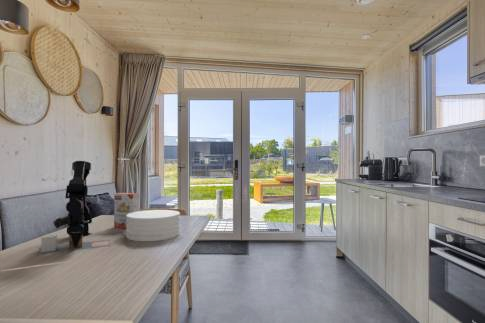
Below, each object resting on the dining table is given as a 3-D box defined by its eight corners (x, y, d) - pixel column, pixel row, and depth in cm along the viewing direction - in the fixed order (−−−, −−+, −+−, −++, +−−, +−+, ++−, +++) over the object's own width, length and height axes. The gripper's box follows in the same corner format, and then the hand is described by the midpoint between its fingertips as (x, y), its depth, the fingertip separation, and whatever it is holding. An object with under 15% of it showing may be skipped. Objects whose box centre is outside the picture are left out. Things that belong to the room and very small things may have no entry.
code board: (35, 256, 112) (35, 254, 112) (40, 248, 123) (40, 247, 123) (110, 247, 126) (110, 245, 126) (109, 240, 136) (109, 239, 136)
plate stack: (114, 237, 145) (114, 215, 145) (154, 227, 169) (154, 208, 170) (153, 244, 131) (153, 220, 132) (189, 232, 156) (190, 212, 156)
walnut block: (68, 248, 121) (69, 235, 121) (69, 245, 125) (69, 232, 125) (82, 247, 123) (82, 233, 123) (82, 244, 128) (82, 231, 128)
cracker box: (113, 227, 167) (113, 193, 167) (120, 225, 172) (120, 192, 173) (132, 229, 163) (133, 194, 163) (139, 227, 168) (139, 193, 169)
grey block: (41, 252, 116) (41, 237, 116) (42, 249, 120) (43, 235, 121) (55, 250, 118) (55, 236, 119) (56, 247, 123) (56, 234, 123)
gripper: (57, 208, 129) (56, 241, 129) (52, 214, 113) (51, 252, 112) (84, 206, 134) (84, 238, 134) (83, 212, 118) (83, 248, 118)
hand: (75, 244), depth 124 cm, fingers open, 9 cm apart
